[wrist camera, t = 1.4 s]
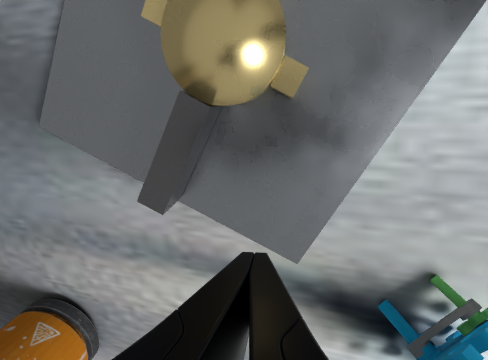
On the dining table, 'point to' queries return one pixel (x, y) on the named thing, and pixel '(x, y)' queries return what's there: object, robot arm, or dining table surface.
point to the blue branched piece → (459, 343)
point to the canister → (49, 333)
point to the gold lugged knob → (212, 77)
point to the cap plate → (255, 106)
